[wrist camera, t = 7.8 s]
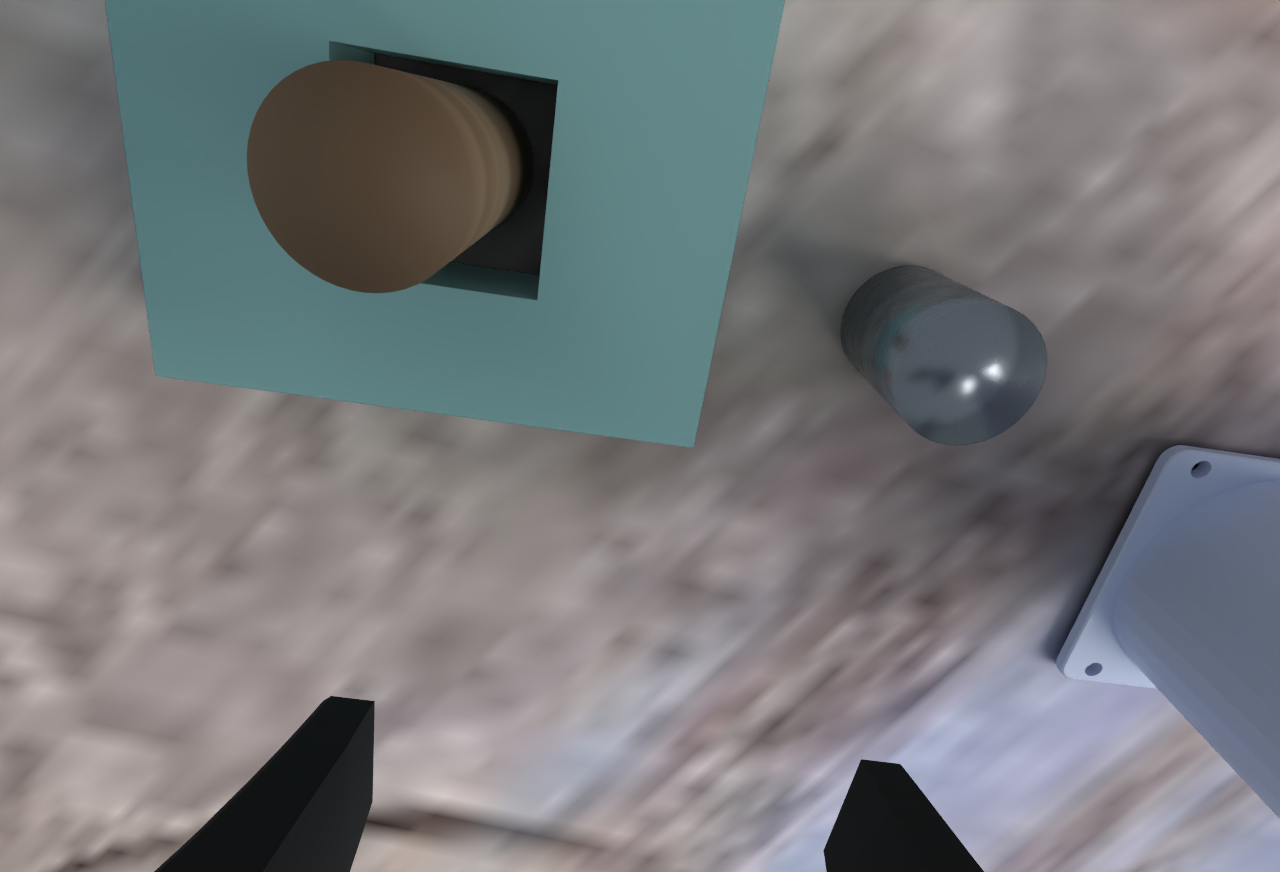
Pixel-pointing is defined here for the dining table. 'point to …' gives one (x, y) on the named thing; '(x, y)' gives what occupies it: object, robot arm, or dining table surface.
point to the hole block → (458, 293)
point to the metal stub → (944, 354)
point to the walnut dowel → (383, 171)
